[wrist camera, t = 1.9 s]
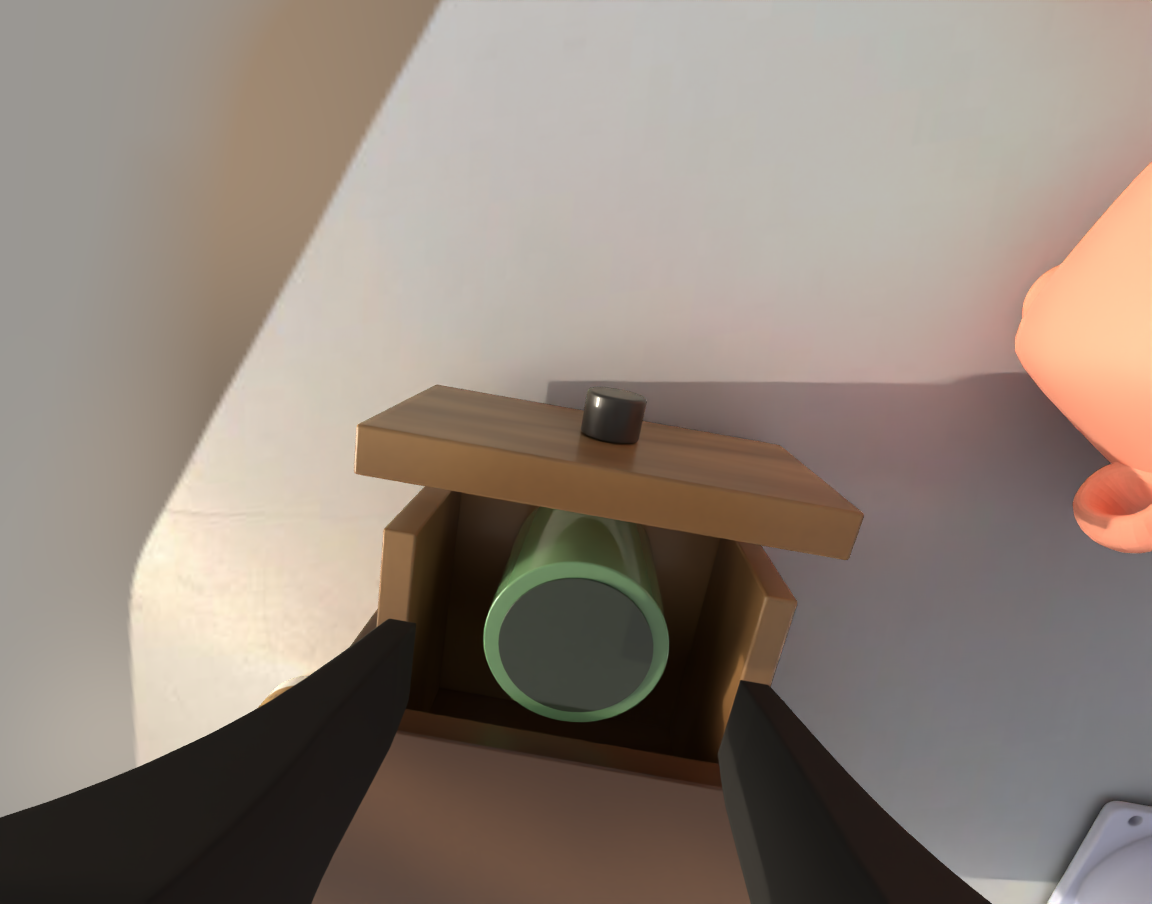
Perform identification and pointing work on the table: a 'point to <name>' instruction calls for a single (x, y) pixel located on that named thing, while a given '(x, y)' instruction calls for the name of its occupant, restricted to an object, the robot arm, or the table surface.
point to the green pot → (577, 617)
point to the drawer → (605, 489)
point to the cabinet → (532, 823)
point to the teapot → (1102, 362)
